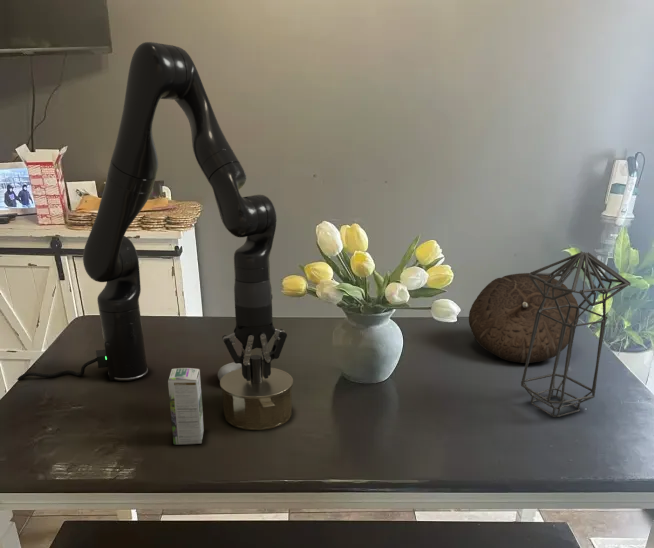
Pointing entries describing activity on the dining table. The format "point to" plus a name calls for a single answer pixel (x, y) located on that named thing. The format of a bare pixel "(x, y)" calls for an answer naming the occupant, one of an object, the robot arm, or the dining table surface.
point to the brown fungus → (519, 318)
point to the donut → (228, 369)
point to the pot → (257, 411)
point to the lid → (256, 382)
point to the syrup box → (186, 406)
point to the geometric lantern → (569, 267)
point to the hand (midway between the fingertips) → (256, 378)
